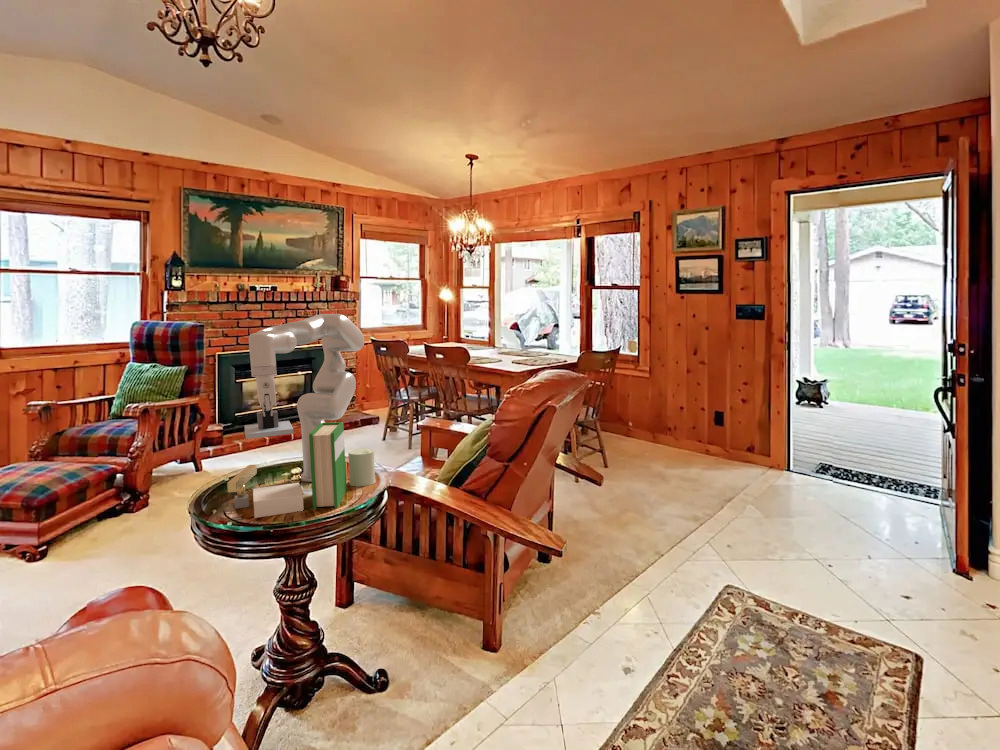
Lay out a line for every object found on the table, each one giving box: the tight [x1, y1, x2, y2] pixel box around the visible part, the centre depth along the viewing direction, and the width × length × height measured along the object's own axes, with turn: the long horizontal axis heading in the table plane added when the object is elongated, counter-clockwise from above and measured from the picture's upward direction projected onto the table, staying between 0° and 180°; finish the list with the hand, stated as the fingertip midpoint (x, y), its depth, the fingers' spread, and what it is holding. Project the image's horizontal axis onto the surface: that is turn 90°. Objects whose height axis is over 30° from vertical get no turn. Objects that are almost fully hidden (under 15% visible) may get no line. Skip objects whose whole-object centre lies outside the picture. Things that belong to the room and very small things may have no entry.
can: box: [347, 447, 377, 487], centre depth 202 cm, size 9×9×12 cm
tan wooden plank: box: [227, 464, 258, 497], centre depth 181 cm, size 20×2×7 cm, turn 6°
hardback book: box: [309, 421, 347, 511], centre depth 183 cm, size 18×7×24 cm, turn 6°
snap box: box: [233, 482, 305, 519], centre depth 177 cm, size 20×16×5 cm
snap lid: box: [244, 409, 295, 440], centre depth 183 cm, size 14×14×6 cm
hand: (268, 426), depth 183 cm, fingers closed on snap lid, 3 cm apart
